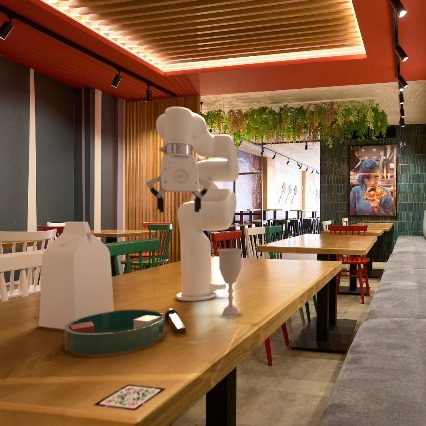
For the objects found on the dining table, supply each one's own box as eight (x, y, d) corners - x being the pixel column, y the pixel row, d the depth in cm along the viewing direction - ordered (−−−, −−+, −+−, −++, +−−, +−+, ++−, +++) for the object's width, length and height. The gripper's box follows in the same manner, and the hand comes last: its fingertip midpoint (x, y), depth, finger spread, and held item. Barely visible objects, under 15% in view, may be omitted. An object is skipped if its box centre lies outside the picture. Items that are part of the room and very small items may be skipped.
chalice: (220, 312, 112) (219, 248, 112) (244, 311, 112) (244, 248, 112) (215, 319, 105) (215, 251, 104) (241, 318, 105) (241, 251, 105)
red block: (94, 344, 84) (94, 325, 84) (72, 348, 82) (72, 329, 81) (91, 339, 87) (91, 321, 87) (70, 343, 85) (70, 324, 85)
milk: (114, 320, 105) (113, 221, 104) (75, 333, 94) (73, 223, 93) (80, 316, 109) (79, 221, 108) (38, 328, 98) (37, 222, 97)
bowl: (158, 323, 102) (158, 305, 101) (171, 346, 84) (171, 325, 84) (67, 335, 92) (67, 316, 92) (61, 364, 75) (61, 340, 75)
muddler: (177, 307, 104) (188, 324, 92) (177, 319, 105) (188, 337, 92) (164, 309, 103) (174, 326, 90) (164, 321, 103) (174, 339, 91)
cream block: (133, 337, 88) (133, 319, 88) (146, 332, 92) (146, 315, 92) (148, 339, 87) (148, 321, 87) (160, 333, 91) (160, 316, 91)
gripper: (147, 148, 105) (148, 212, 106) (212, 152, 114) (213, 212, 114) (144, 151, 112) (145, 212, 112) (206, 155, 121) (206, 212, 121)
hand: (179, 212), depth 113 cm, fingers open, 9 cm apart
